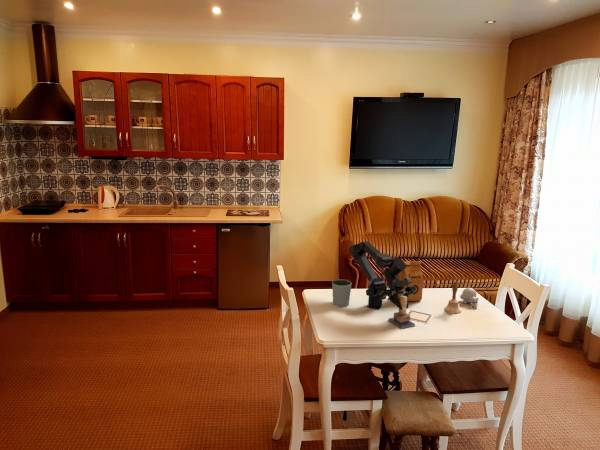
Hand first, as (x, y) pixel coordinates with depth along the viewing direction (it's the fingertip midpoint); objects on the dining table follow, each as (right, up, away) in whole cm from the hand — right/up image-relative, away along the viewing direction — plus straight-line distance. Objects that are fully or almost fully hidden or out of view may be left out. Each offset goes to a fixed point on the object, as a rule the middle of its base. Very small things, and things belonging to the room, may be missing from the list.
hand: (404, 308), depth 211 cm
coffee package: (+11, -1, +34) cm, 35 cm away
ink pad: (-1, -7, +3) cm, 8 cm away
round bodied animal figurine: (+43, -3, +30) cm, 52 cm away
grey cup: (-28, -2, +24) cm, 37 cm away
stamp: (-1, -6, +3) cm, 7 cm away
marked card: (+10, -6, +11) cm, 16 cm away
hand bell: (+30, -5, +21) cm, 37 cm away
